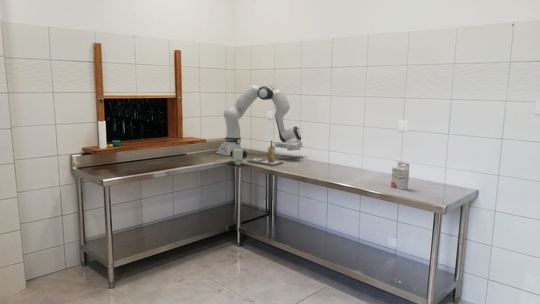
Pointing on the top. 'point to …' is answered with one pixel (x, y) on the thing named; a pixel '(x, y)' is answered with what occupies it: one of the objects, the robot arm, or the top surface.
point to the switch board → (264, 162)
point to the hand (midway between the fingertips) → (280, 146)
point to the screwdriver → (271, 154)
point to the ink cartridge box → (400, 176)
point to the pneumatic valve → (238, 155)
